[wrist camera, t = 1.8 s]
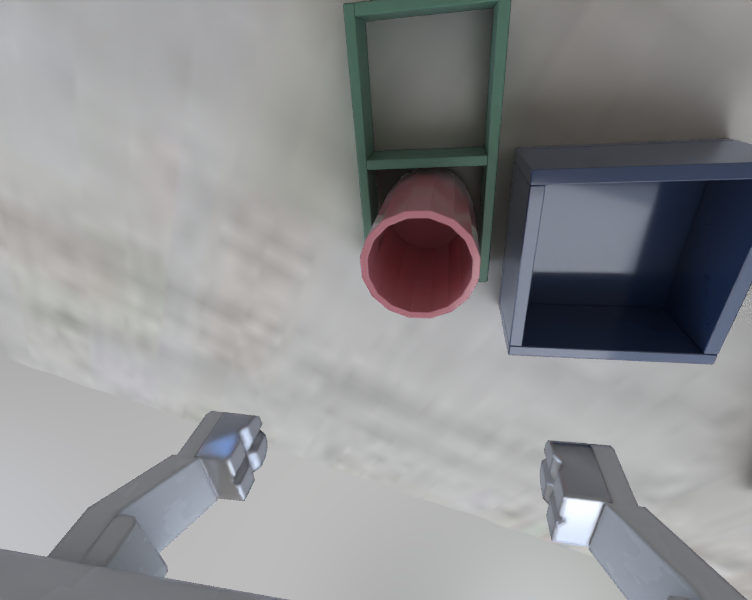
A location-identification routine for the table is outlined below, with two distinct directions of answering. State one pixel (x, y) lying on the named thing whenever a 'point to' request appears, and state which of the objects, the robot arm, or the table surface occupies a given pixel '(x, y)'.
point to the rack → (407, 3)
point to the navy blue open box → (627, 249)
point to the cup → (423, 246)
